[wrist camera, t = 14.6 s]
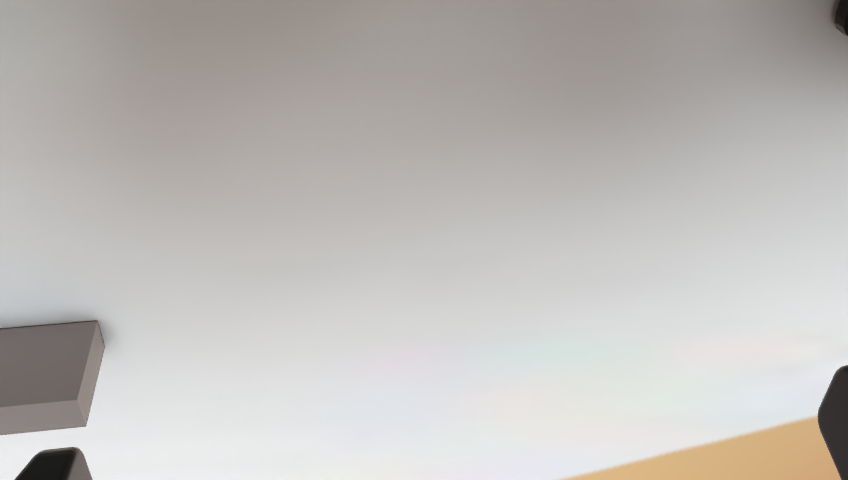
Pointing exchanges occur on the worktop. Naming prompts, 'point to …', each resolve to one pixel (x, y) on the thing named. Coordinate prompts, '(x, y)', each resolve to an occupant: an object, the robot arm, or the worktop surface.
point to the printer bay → (48, 376)
